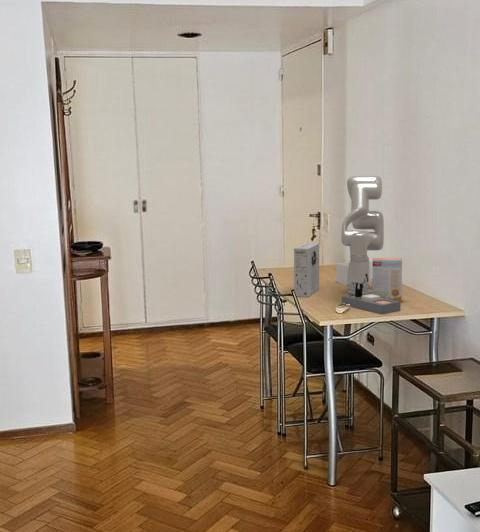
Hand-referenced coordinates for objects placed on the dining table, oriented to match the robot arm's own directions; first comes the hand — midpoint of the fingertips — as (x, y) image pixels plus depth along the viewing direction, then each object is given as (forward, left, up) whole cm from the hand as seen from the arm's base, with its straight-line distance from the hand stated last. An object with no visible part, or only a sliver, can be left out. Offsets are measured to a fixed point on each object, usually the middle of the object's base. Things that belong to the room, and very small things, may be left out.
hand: (358, 296), depth 331 cm
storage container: (-40, +41, -4) cm, 58 cm away
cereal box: (-37, -1, -4) cm, 37 cm away
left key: (0, 0, -3) cm, 3 cm away
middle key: (+8, 0, -1) cm, 8 cm away
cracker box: (+3, +16, -4) cm, 17 cm away
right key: (+16, 0, -3) cm, 16 cm away
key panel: (+8, 0, -4) cm, 9 cm away
